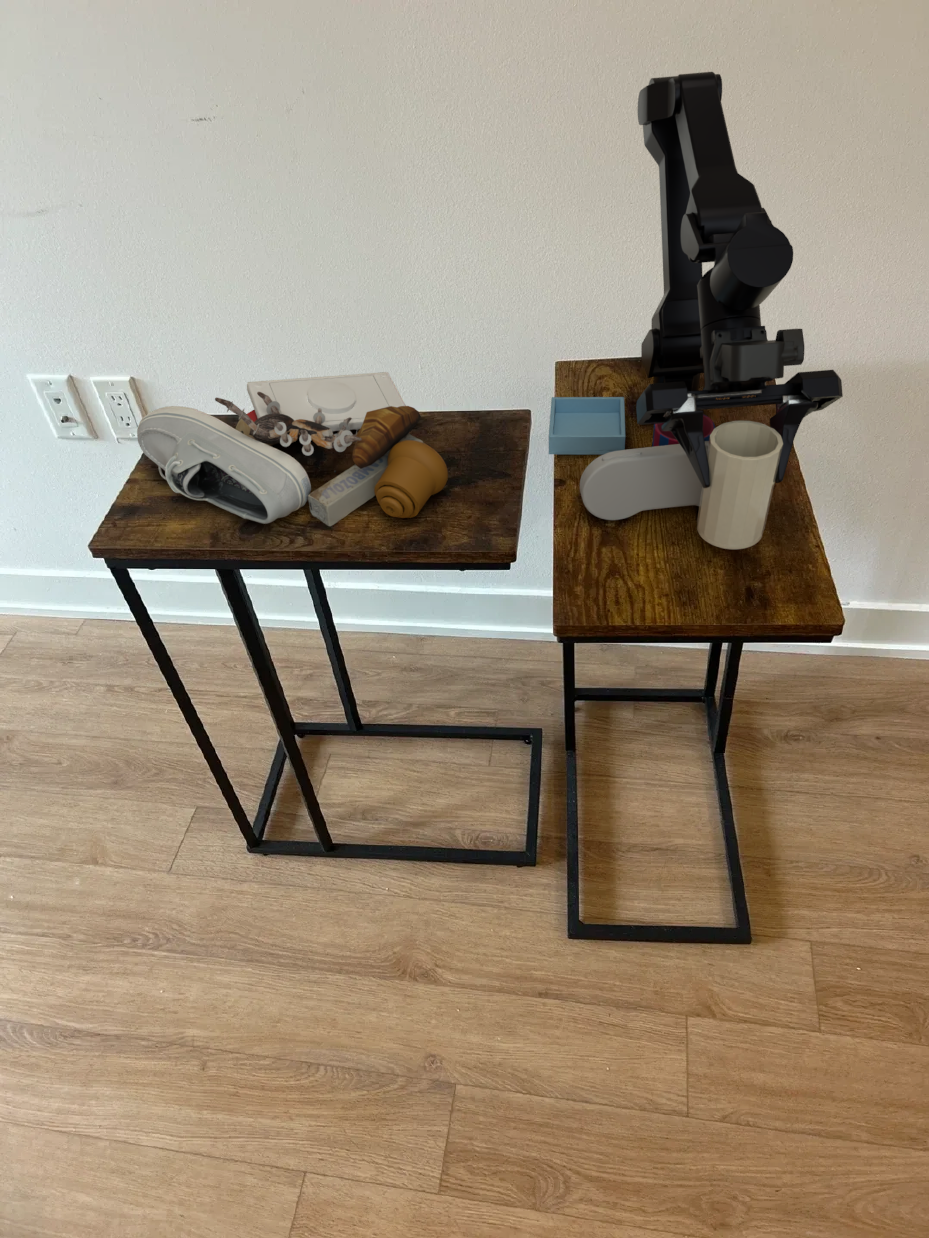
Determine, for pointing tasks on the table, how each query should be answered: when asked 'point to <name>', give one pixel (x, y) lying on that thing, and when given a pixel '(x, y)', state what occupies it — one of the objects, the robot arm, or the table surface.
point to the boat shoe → (222, 464)
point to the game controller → (639, 481)
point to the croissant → (383, 432)
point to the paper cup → (738, 483)
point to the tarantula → (293, 428)
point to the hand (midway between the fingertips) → (742, 485)
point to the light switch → (328, 397)
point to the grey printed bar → (348, 490)
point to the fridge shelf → (586, 425)
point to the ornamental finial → (410, 478)
